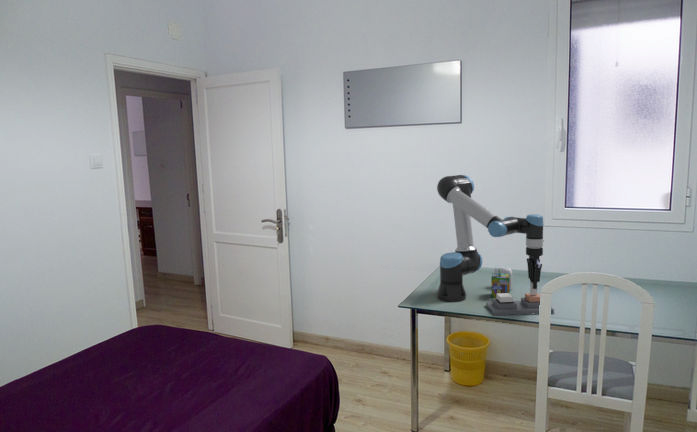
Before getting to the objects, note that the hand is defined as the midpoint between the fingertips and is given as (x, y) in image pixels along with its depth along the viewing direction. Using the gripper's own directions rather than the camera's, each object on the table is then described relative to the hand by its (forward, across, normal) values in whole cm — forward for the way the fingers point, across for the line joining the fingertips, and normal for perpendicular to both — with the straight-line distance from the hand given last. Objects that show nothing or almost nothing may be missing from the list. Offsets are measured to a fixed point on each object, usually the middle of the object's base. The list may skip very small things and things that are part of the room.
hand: (533, 294), depth 225 cm
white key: (+2, 0, +14) cm, 14 cm away
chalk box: (+8, +21, +9) cm, 24 cm away
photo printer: (+7, +35, +3) cm, 36 cm away
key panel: (+7, 0, +7) cm, 10 cm away
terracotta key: (+3, 0, 0) cm, 3 cm away
